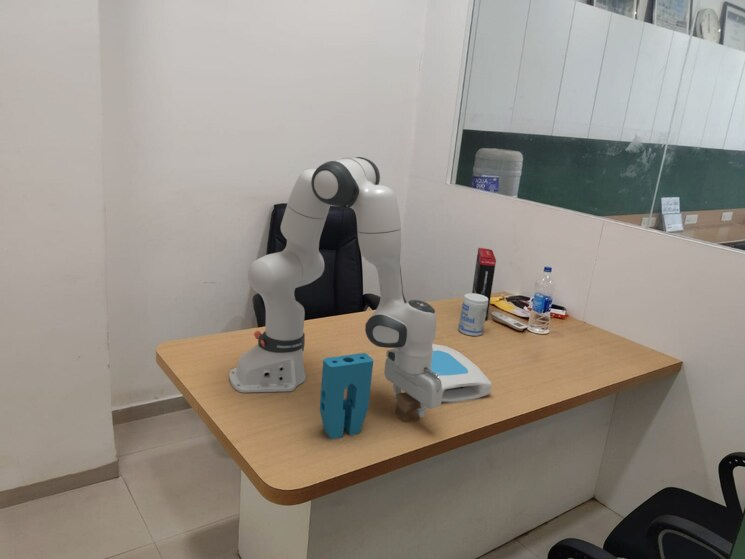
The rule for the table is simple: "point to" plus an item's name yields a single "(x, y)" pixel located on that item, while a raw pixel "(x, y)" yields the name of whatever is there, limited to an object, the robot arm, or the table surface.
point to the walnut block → (407, 407)
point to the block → (335, 380)
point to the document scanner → (458, 375)
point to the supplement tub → (473, 314)
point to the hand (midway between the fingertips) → (409, 407)
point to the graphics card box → (484, 274)
